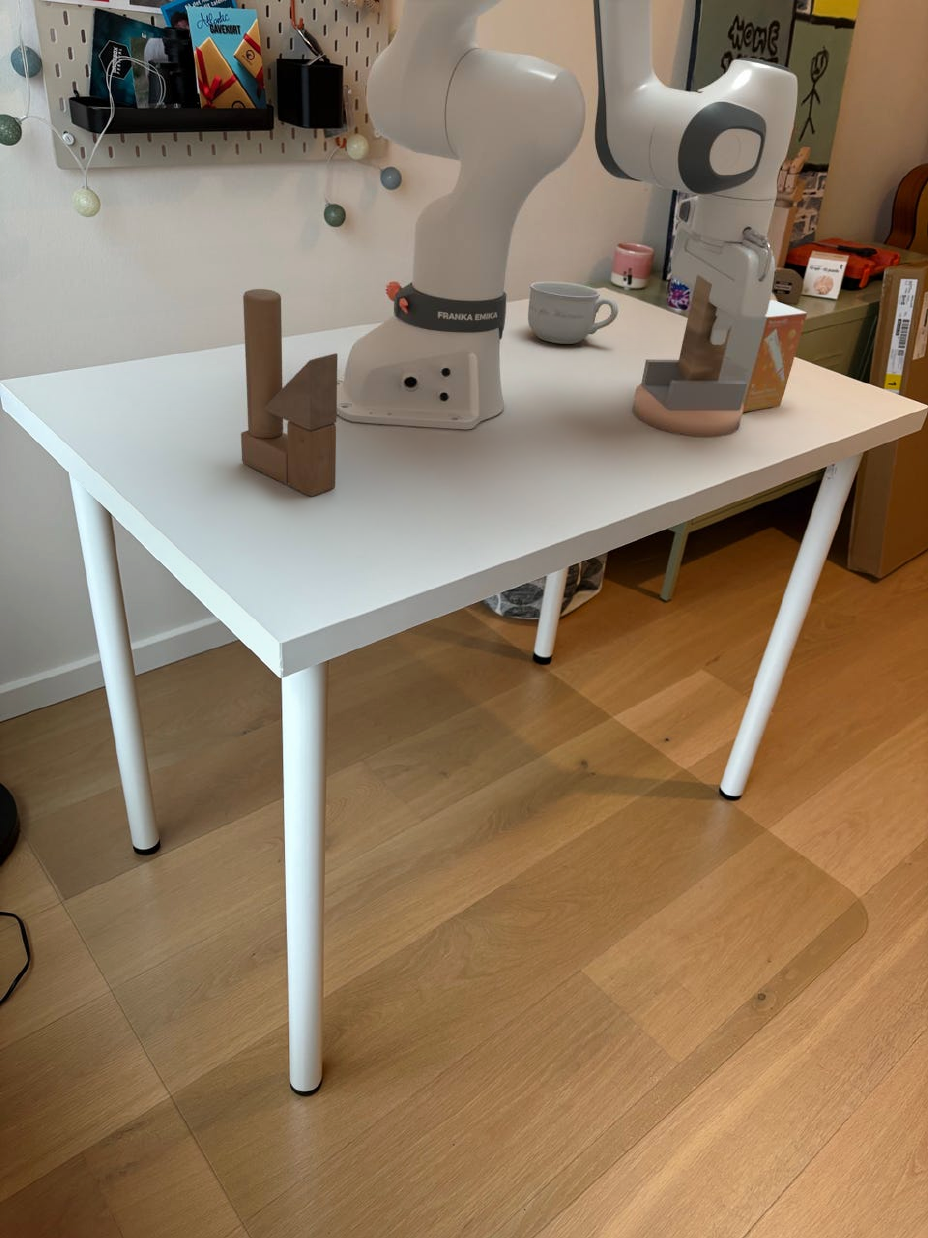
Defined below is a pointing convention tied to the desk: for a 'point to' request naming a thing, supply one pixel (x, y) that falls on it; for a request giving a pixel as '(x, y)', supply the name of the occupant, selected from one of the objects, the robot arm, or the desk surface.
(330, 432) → the brown wooden block assembly
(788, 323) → the small box
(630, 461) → the desk surface
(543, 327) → the teacup
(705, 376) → the wood grain beam
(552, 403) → the desk surface
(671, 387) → the round base with bracket
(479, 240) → the robot arm
